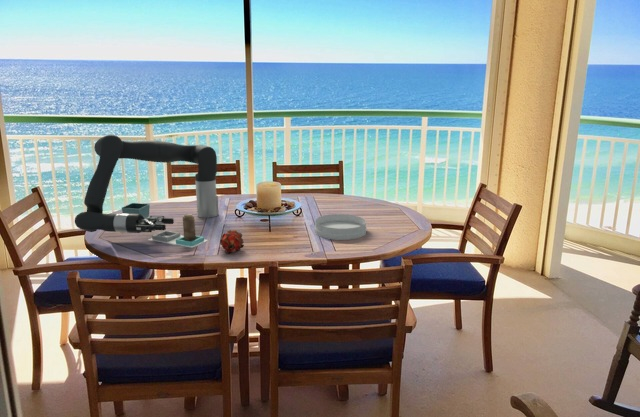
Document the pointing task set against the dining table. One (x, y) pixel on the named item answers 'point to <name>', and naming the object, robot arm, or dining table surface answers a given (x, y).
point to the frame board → (176, 239)
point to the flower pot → (137, 209)
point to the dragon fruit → (232, 241)
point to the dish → (340, 226)
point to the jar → (189, 227)
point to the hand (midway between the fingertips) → (169, 224)
